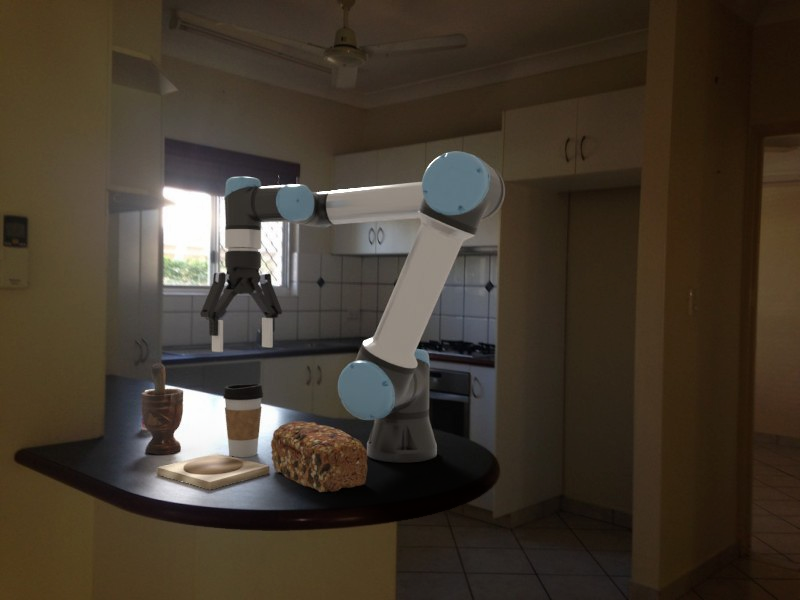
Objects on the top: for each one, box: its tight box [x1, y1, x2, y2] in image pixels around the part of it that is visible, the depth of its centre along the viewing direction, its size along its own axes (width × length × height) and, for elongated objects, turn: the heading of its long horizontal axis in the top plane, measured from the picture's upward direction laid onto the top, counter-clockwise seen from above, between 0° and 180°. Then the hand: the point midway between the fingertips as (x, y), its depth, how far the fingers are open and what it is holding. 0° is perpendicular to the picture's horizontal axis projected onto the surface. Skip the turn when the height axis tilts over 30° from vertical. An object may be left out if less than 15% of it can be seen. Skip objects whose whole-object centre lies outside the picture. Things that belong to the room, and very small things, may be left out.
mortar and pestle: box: [140, 362, 184, 456], centre depth 149 cm, size 12×9×20 cm
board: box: [156, 452, 270, 491], centre depth 133 cm, size 16×14×2 cm
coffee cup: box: [222, 383, 264, 458], centre depth 149 cm, size 8×8×15 cm
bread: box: [270, 420, 368, 493], centre depth 131 cm, size 19×11×10 cm, turn 38°
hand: (243, 349), depth 149 cm, fingers open, 13 cm apart
